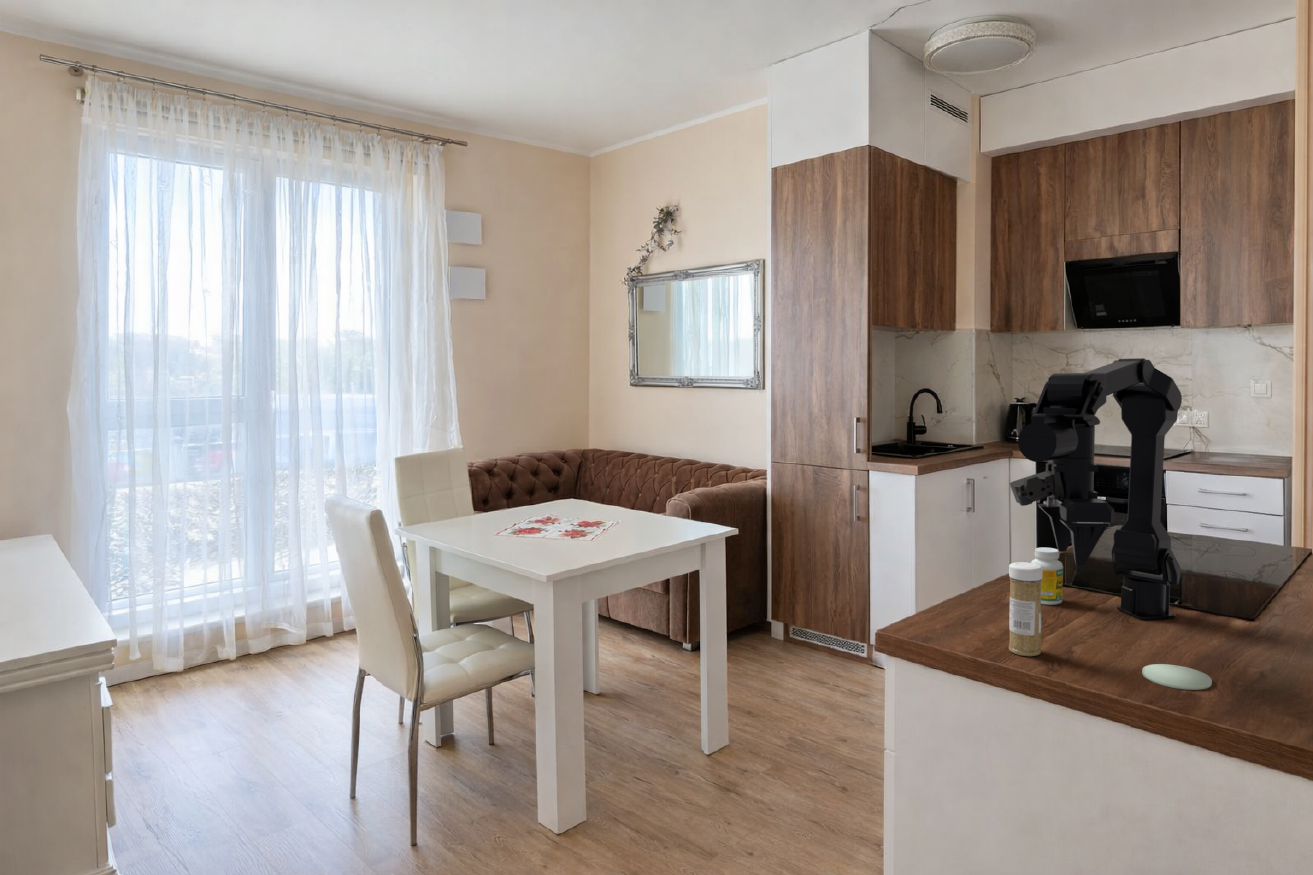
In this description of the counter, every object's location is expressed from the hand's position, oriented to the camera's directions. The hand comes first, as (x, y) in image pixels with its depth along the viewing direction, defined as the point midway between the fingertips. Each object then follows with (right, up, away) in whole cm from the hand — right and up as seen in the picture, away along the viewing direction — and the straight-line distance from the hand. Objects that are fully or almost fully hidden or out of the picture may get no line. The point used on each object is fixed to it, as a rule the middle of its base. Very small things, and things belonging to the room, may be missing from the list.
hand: (1070, 558), depth 122 cm
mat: (+8, -15, -12) cm, 21 cm away
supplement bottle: (+8, -12, +25) cm, 29 cm away
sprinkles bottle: (-7, -14, -1) cm, 16 cm away
